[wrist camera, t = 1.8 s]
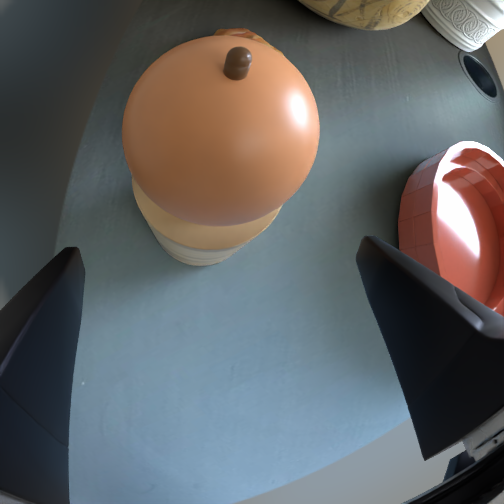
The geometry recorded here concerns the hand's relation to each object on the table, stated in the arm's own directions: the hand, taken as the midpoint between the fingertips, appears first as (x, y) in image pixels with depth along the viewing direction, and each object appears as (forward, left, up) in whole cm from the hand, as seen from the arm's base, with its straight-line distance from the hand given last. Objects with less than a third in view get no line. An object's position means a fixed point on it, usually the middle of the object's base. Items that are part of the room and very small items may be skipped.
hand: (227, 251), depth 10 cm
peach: (+4, -1, -4) cm, 6 cm away
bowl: (-3, -25, -13) cm, 28 cm away
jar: (+30, -44, -13) cm, 55 cm away
